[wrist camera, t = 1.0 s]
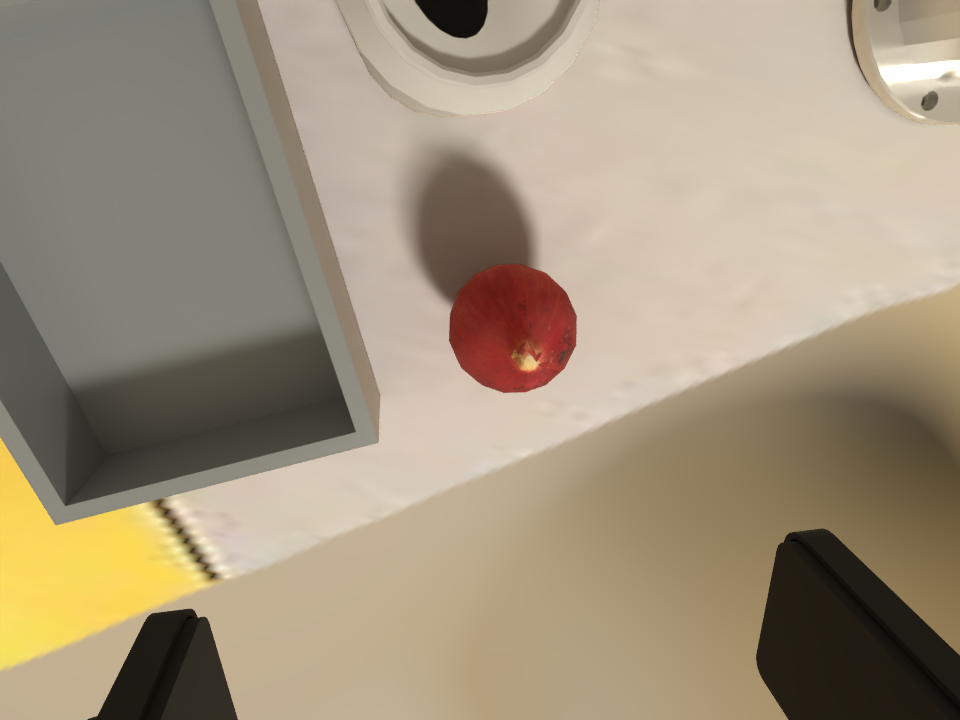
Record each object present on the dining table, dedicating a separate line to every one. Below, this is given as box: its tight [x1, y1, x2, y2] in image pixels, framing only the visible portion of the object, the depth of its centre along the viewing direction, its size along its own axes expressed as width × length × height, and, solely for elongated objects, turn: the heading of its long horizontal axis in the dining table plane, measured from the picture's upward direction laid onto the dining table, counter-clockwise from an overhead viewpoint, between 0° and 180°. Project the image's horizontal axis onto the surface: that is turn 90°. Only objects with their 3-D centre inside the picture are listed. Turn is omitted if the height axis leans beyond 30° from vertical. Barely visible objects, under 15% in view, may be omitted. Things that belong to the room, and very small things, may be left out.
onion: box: [449, 264, 577, 393], centre depth 27 cm, size 6×6×8 cm
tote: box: [0, 0, 380, 525], centre depth 25 cm, size 15×20×5 cm
